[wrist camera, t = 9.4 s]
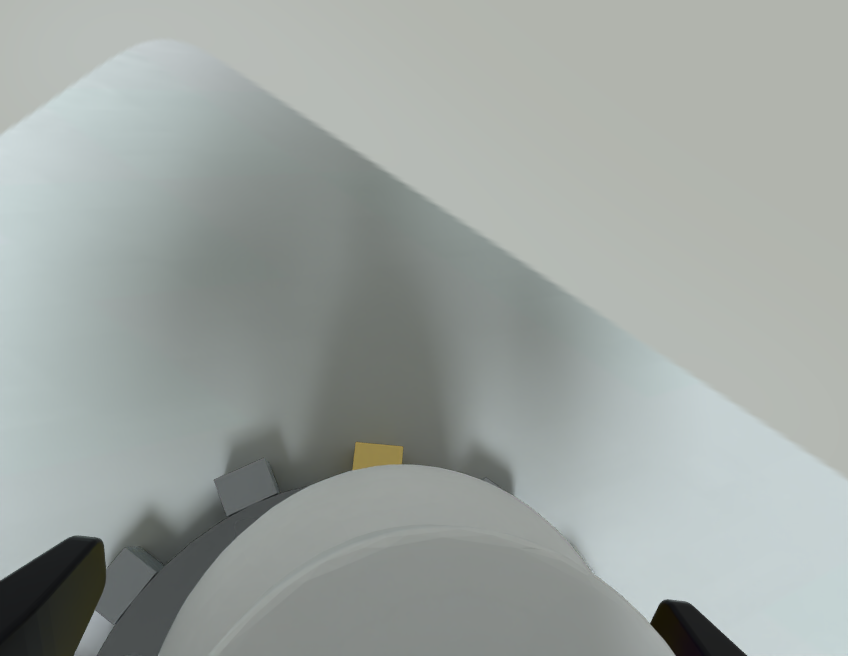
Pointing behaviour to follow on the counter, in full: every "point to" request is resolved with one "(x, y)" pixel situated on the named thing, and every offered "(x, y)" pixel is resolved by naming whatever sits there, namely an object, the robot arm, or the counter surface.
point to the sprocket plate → (196, 557)
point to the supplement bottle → (405, 578)
